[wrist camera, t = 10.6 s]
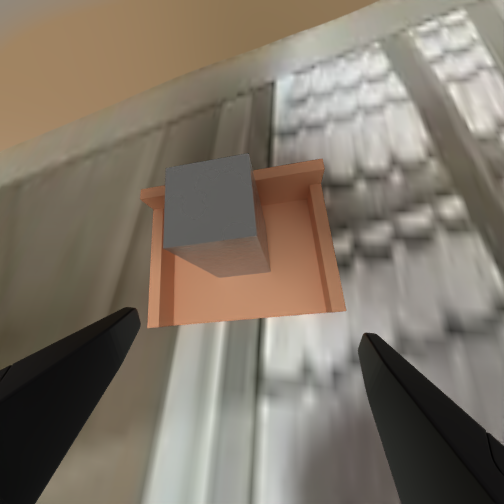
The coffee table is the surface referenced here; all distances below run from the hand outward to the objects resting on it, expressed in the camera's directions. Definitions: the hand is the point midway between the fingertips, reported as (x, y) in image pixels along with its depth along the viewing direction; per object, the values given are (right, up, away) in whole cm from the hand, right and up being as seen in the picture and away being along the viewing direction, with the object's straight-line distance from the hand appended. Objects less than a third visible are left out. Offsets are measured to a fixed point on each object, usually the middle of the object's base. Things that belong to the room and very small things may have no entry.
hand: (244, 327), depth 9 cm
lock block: (-1, +3, +13) cm, 13 cm away
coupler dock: (-1, +3, +13) cm, 13 cm away
